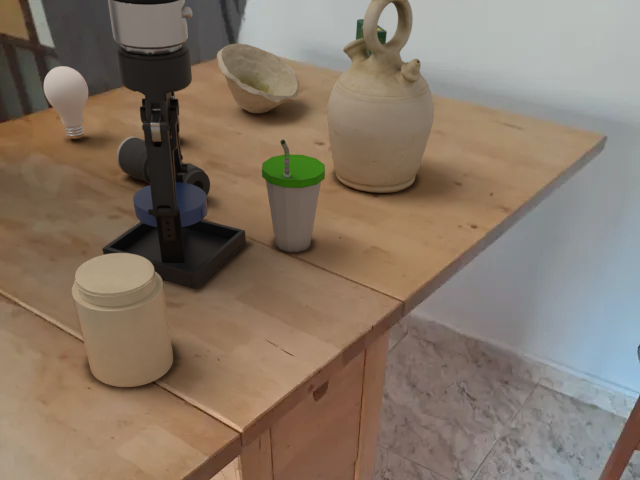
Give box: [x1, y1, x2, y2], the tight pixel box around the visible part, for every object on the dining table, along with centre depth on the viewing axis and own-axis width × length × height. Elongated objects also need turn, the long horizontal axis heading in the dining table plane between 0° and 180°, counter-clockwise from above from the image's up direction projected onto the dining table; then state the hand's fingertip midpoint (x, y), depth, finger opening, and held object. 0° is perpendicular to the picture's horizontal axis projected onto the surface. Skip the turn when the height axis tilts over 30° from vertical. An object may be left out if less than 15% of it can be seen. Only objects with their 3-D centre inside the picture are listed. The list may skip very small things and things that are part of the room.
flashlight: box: [116, 136, 211, 197], centre depth 99 cm, size 15×5×5 cm, turn 48°
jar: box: [71, 253, 174, 388], centre depth 67 cm, size 8×8×10 cm
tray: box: [102, 219, 247, 290], centre depth 87 cm, size 13×12×2 cm
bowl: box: [216, 43, 300, 114], centre depth 123 cm, size 15×14×10 cm
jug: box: [326, 0, 434, 194], centre depth 98 cm, size 15×16×25 cm
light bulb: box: [43, 65, 89, 141], centre depth 110 cm, size 7×7×11 cm
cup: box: [261, 139, 326, 253], centre depth 85 cm, size 8×8×15 cm
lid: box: [132, 182, 209, 227], centre depth 83 cm, size 9×9×2 cm
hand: (175, 242), depth 86 cm, fingers closed on lid, 9 cm apart
